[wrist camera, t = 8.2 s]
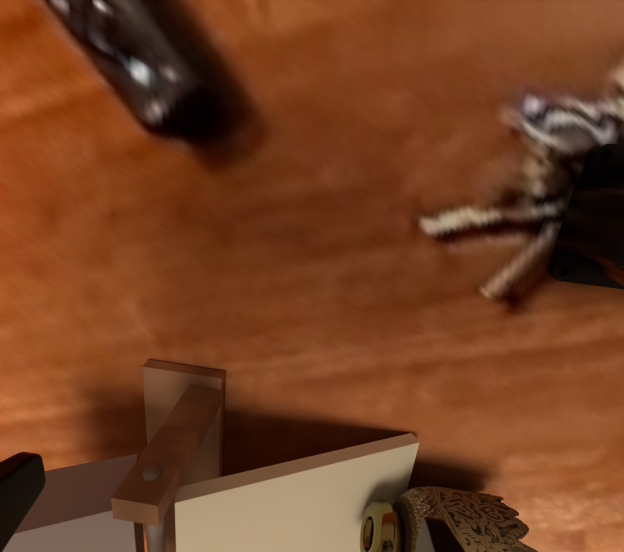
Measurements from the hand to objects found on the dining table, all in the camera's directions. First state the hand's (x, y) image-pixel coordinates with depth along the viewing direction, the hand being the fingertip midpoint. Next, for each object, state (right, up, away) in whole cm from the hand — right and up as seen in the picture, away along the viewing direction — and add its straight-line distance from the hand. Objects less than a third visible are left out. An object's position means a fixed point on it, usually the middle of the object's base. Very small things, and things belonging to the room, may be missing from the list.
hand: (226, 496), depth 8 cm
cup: (+5, -9, +12) cm, 16 cm away
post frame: (-7, -9, +17) cm, 20 cm away
